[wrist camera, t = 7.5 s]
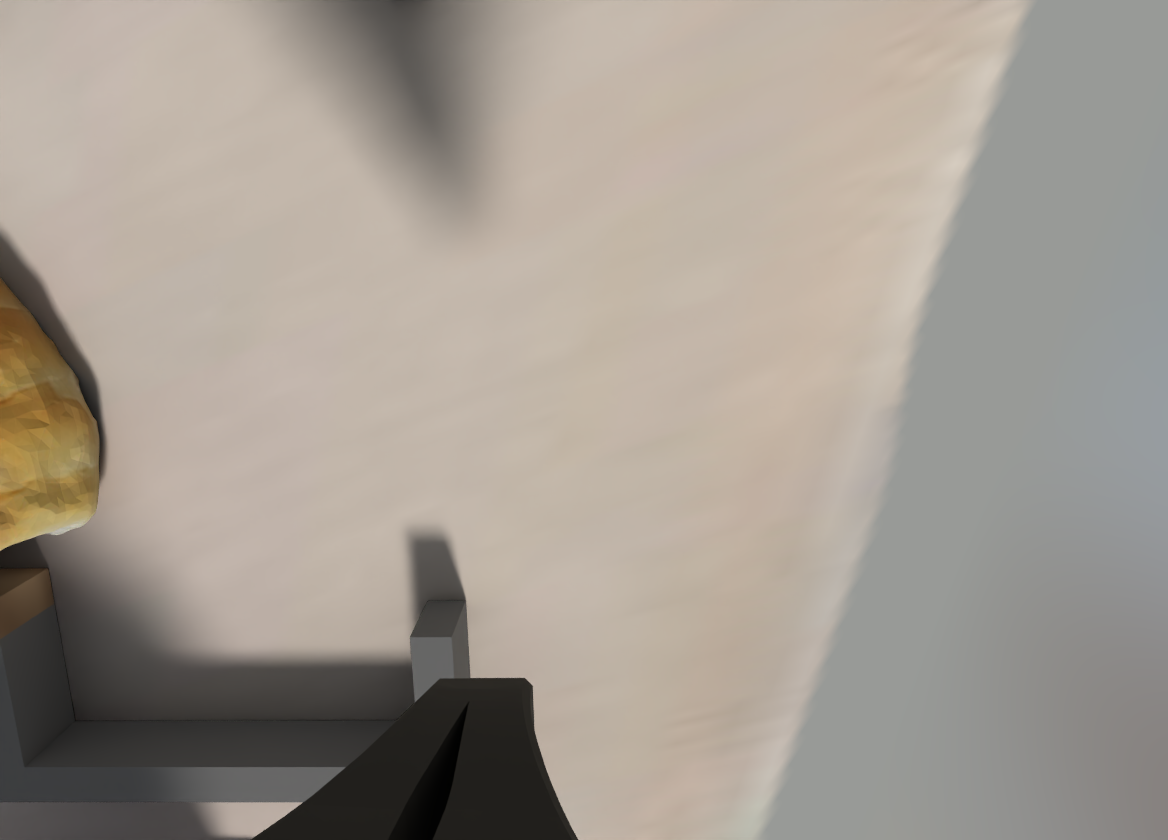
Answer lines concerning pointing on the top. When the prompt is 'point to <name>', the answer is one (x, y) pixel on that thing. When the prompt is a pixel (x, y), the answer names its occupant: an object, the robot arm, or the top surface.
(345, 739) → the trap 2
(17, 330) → the pastry
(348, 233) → the top surface
